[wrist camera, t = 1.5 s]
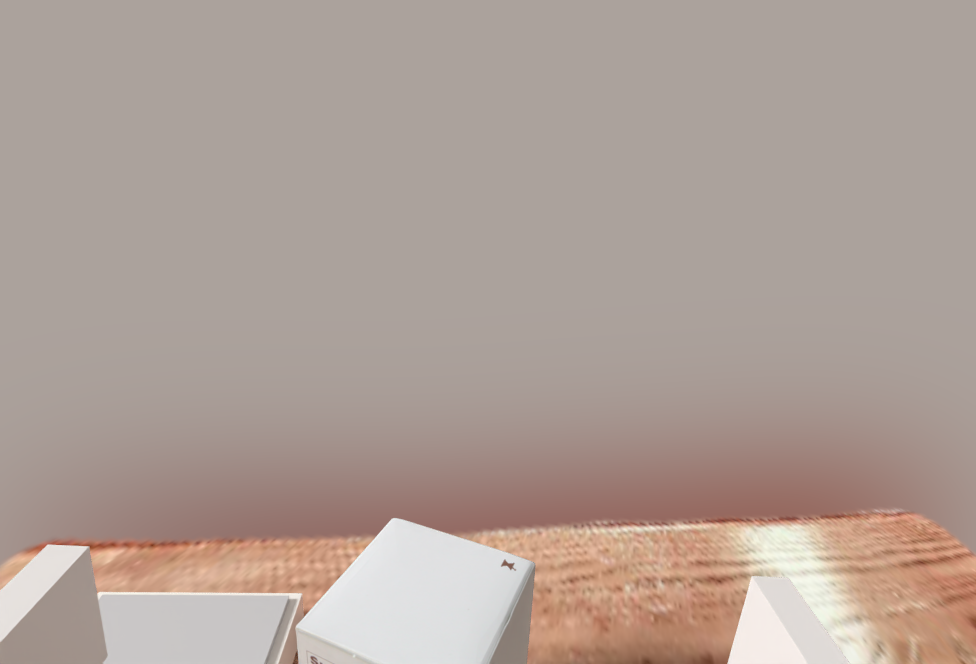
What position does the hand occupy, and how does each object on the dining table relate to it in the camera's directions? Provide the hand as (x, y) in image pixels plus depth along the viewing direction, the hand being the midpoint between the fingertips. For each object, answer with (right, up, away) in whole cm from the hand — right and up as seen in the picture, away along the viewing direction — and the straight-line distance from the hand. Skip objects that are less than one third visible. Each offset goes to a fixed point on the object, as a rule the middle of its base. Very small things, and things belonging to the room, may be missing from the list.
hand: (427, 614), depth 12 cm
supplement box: (-2, -17, +16) cm, 23 cm away
